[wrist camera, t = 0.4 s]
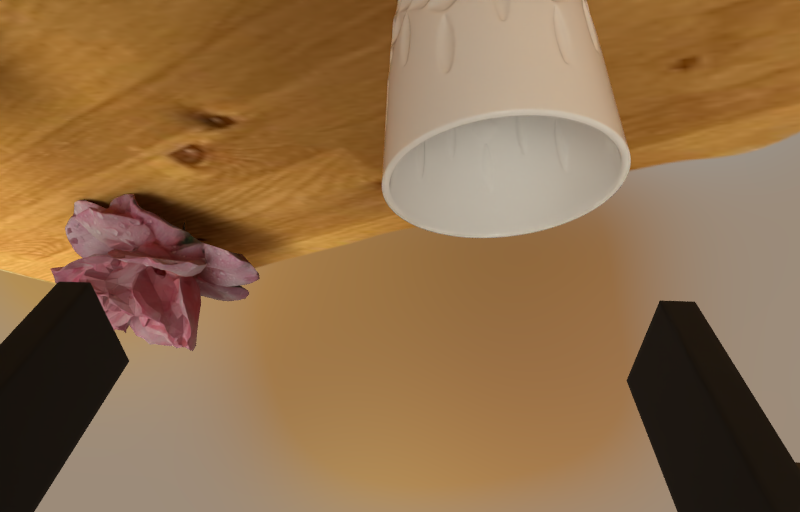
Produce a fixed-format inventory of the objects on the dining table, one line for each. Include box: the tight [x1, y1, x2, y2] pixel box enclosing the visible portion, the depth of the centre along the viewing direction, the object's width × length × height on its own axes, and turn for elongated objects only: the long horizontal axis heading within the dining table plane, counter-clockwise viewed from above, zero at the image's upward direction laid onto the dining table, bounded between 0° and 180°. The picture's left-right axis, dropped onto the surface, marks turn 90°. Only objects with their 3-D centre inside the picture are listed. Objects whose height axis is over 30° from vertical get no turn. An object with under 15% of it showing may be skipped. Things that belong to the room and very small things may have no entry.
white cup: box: [382, 0, 631, 238], centre depth 18 cm, size 8×8×10 cm
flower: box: [51, 194, 259, 351], centre depth 39 cm, size 15×15×10 cm
